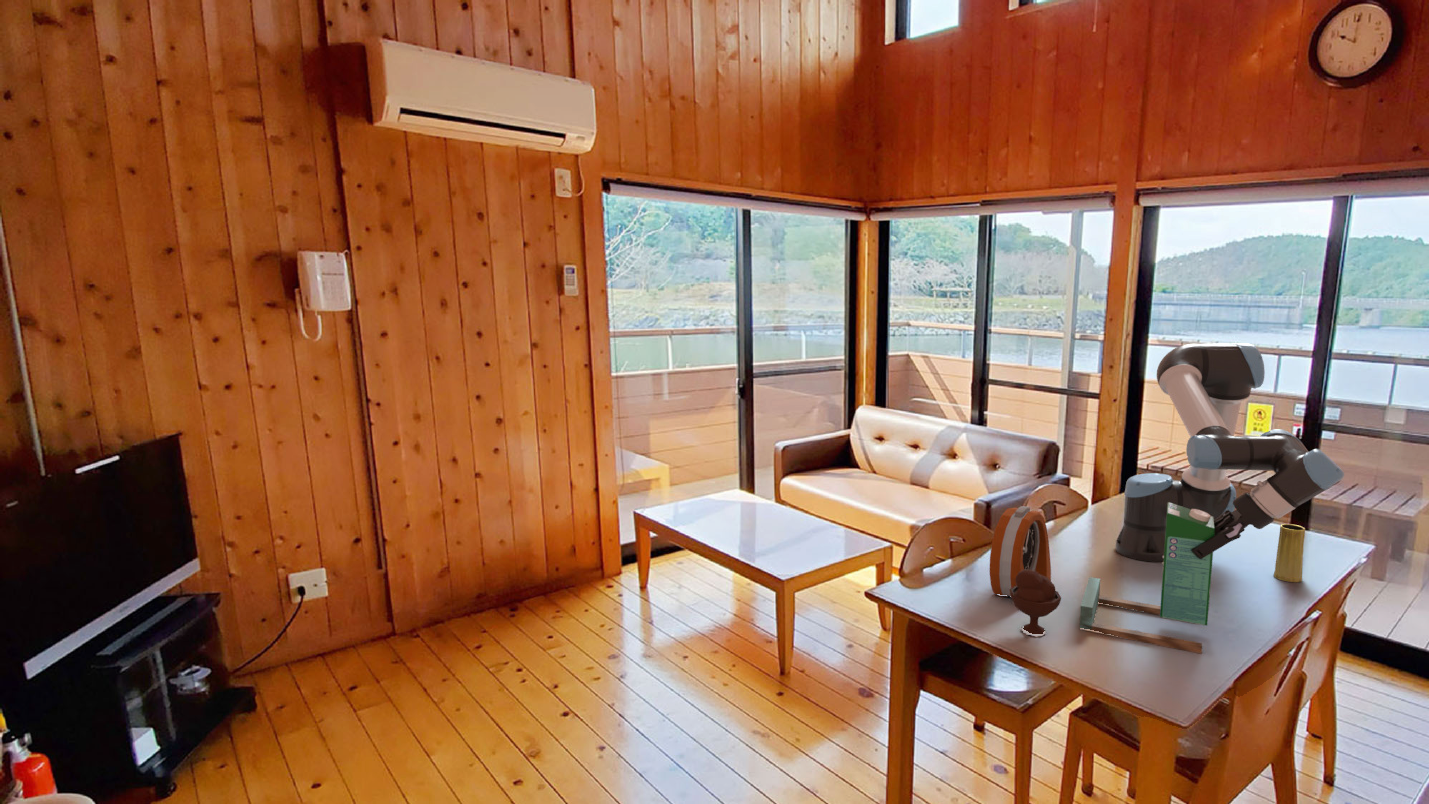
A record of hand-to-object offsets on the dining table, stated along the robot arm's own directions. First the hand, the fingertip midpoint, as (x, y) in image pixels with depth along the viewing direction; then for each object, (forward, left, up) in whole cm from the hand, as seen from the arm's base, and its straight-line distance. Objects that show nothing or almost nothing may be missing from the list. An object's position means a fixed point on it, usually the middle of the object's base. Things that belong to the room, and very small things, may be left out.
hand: (1167, 564), depth 170 cm
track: (-4, -3, -16) cm, 16 cm away
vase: (0, +55, -16) cm, 57 cm away
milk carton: (+3, +2, -11) cm, 12 cm away
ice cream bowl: (-15, -26, -16) cm, 34 cm away
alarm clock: (-32, -9, -16) cm, 36 cm away
